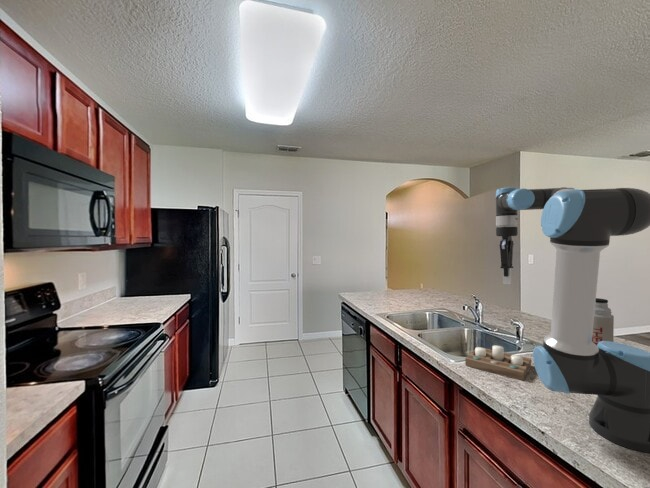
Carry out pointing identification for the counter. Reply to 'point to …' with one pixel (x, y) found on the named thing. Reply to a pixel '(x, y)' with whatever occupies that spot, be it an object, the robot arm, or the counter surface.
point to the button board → (499, 365)
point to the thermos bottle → (602, 322)
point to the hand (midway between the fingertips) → (506, 284)
